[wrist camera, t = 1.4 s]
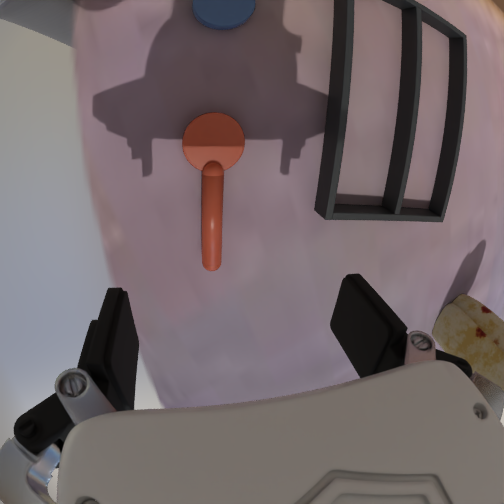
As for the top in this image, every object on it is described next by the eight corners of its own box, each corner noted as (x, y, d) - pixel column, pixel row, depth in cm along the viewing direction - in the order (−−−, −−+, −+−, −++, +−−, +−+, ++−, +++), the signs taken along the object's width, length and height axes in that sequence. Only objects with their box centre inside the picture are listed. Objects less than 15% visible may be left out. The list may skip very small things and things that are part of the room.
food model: (436, 336, 39) (500, 417, 22) (419, 330, 37) (491, 423, 19) (469, 290, 36) (544, 364, 18) (456, 279, 33) (543, 363, 16)
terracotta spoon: (241, 113, 18) (250, 113, 16) (233, 255, 23) (239, 273, 21) (183, 112, 17) (183, 112, 15) (184, 257, 22) (185, 276, 20)
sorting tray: (309, 206, 23) (325, 220, 20) (329, -21, 13) (347, -32, 11) (424, 211, 26) (442, 222, 23) (446, 35, 16) (466, 35, 14)
